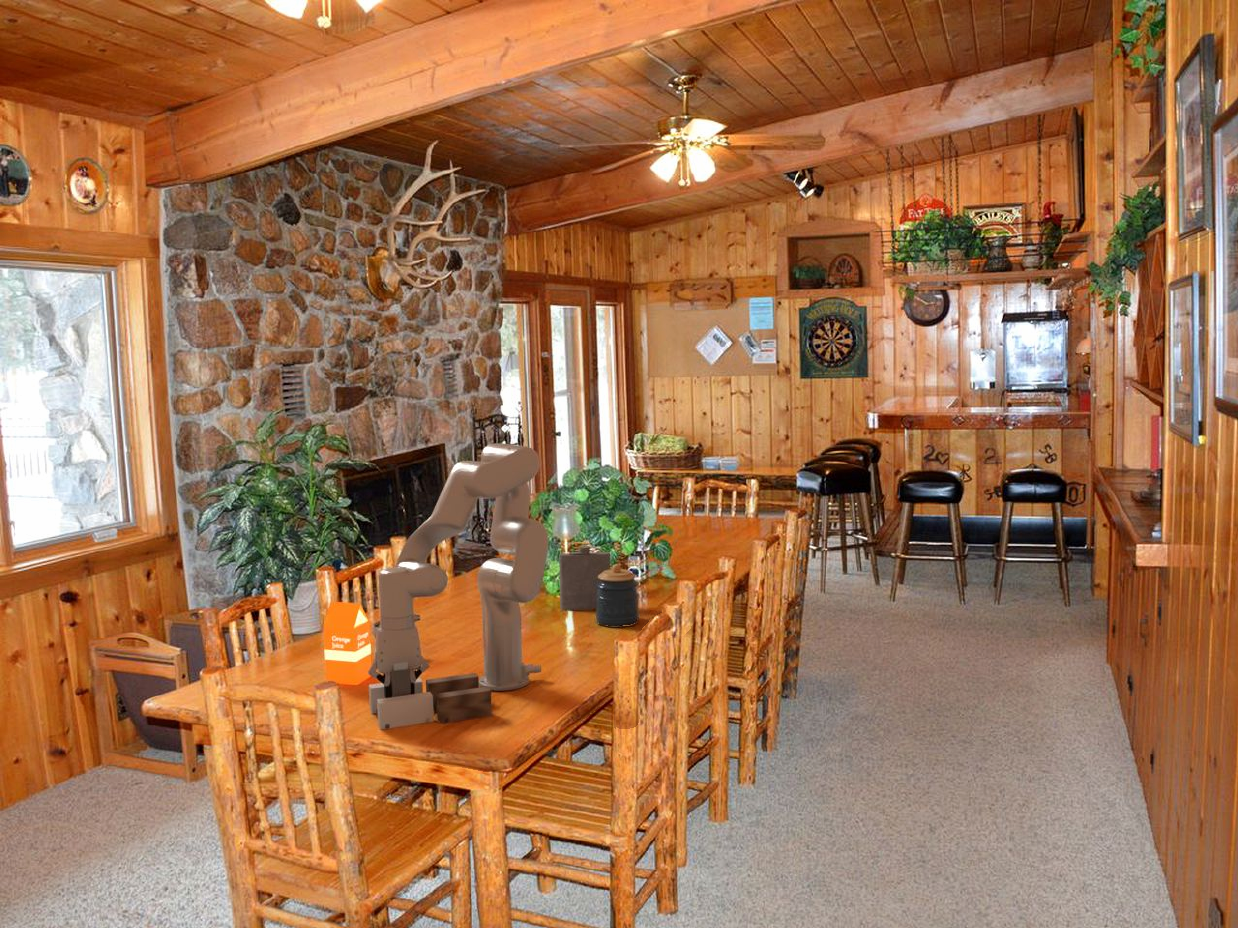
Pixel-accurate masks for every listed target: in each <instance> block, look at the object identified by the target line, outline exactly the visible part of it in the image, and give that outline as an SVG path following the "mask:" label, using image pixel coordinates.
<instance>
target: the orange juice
mask: <svg viewBox="0 0 1238 928" xmlns="http://www.w3.org/2000/svg"><path fill="white" fill-rule="evenodd" d="M370 627H371V626H370V620H369V619H368V617H367V615H366V612H365V610H364V609H363V607H362V605H361V603H360V602H359V603H357V602H343V601H329V605H328V609H327V613H326V616H325V620H324V623H323V641H324V643H323V644H324V662H325V663H324V664H325V681H326V683H328V682H327V681H334V682H336V683H335V684H342V685H352V686H353V685H355V686H358V685H360V684H361V683H363V682H365V681H366V680H367V679H369V678H371V677H372V676H370V675H369V674H368V670H369V669H370V667H371V665H372V646H371V634H370V633H371V630H370V629H371V628H370Z"/></svg>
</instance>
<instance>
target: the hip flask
mask: <svg viewBox="0 0 1238 928" xmlns="http://www.w3.org/2000/svg"><path fill="white" fill-rule="evenodd" d="M578 550H579V551H575V552H568V553H565V552H564V553H559V555H558V560H559V561H558V563H559V596H560V597H559V601H560V602H559V603H560V605H559V606H560V607H559V608H560V610H561V611H593V610H592V609H596V596H595V595H596V593H597V587H596V586H595V583H596V582H597V581H599V578H598V575H599V574H601V573H602V572H603V571H605V570H610V569H611V553H610V551H600V552H598V551H597V552H591V551H590V550H591V545H580V546H578Z"/></svg>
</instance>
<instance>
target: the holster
mask: <svg viewBox="0 0 1238 928" xmlns="http://www.w3.org/2000/svg"><path fill="white" fill-rule="evenodd" d="M479 678H480V677H479V676H478V675H477V673H476V672H473V673H471V672H470V673H465V674H464V673H463V674H459V675H458V674H457V675H451V676H449V675H448V676H442V677H437V678H428V679H425V693H426V692H430V693H431V694H432V695H433V709H434V708H435V709H434V710H435V712H436V719H437V721H438V723H439V724H448V723H453V722H460V721H466V720H473V718H474V719H478V718H485V717H484V716H487V717H492V716H493V715H492V714H493V712H492V710H493V709H492V690H490V689H489V688H488V687H480V686H479ZM491 715H492V716H491Z"/></svg>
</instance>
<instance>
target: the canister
mask: <svg viewBox="0 0 1238 928" xmlns="http://www.w3.org/2000/svg"><path fill="white" fill-rule="evenodd" d="M598 578H599V581H597V582H596V583H595V586H596V587H597V593H596V595H595V596H596V611H595V619H596V623H597V624H598V623H599V624H601V625H600V626H602V625H608V626H623V625H631V624H634V623H636V622H638V623H639V618H640V613H639V592H638V586H639V582H638V581H637V580H636V579H635V578H636V574H635V573H633V572H632V571H631V570H630V569H629V570H628V569H624V568H621V565H620V564H616V563H615V564H613V565H612V567H611V568H610V570H605V571H603V572H602V573H601V574H599V575H598ZM599 624H598V625H599ZM636 624H637V623H636Z"/></svg>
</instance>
